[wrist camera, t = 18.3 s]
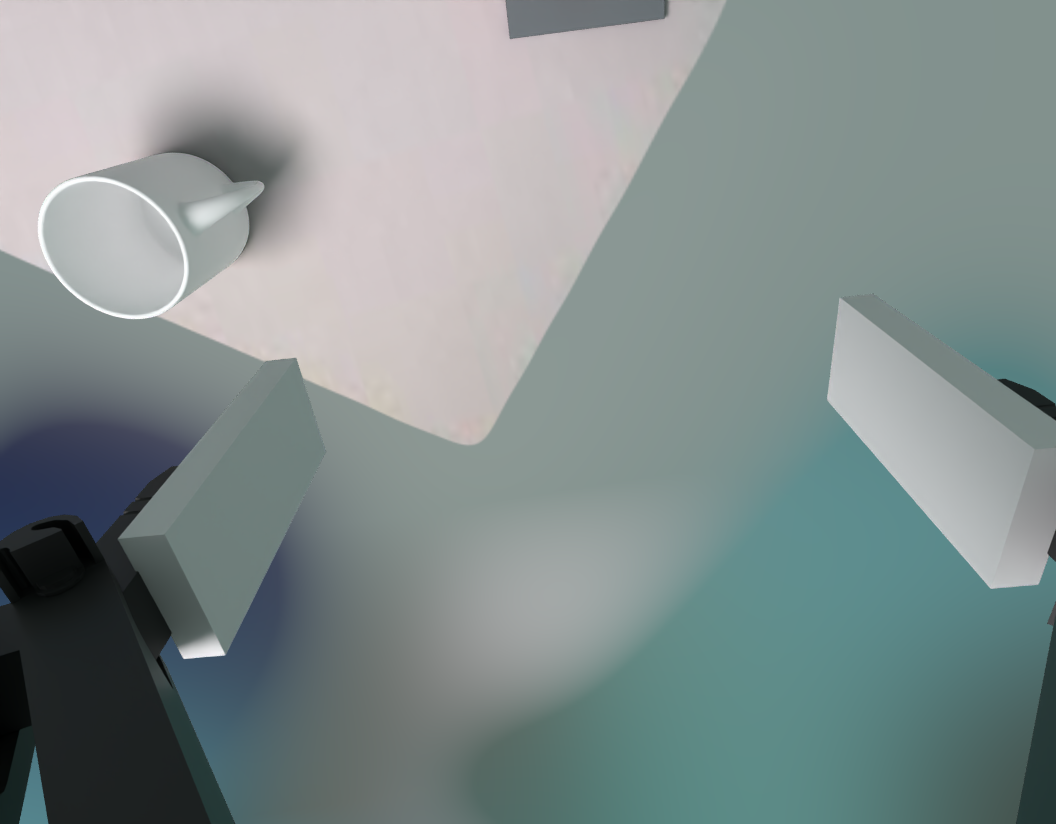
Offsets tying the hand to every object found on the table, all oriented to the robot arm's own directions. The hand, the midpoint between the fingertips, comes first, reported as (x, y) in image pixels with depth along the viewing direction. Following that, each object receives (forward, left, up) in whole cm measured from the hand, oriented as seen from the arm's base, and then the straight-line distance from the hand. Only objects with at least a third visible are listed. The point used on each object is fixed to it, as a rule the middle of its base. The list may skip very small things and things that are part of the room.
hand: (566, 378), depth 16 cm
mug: (-24, 0, -35) cm, 42 cm away
